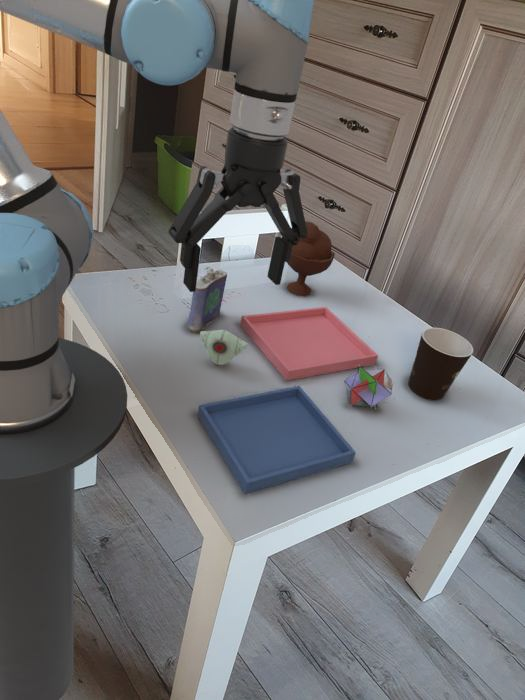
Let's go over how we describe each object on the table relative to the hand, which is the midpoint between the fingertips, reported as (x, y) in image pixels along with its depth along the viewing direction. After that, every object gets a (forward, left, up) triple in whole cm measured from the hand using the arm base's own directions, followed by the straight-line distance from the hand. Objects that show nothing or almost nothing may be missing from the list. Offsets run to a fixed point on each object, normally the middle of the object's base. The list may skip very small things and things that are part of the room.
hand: (233, 283), depth 79 cm
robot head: (+1, +2, -16) cm, 16 cm away
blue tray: (+1, -16, -16) cm, 23 cm away
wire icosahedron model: (+20, -13, -16) cm, 29 cm away
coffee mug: (+36, -13, -16) cm, 42 cm away
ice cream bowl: (+30, +23, -16) cm, 41 cm away
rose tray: (+20, +4, -16) cm, 26 cm away
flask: (+4, +15, -16) cm, 22 cm away
